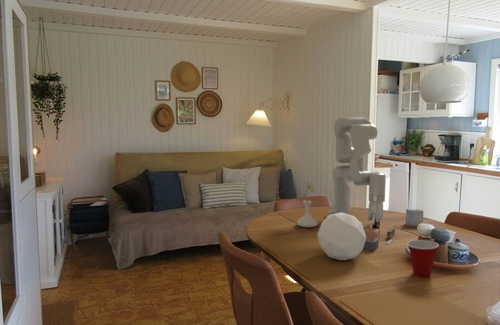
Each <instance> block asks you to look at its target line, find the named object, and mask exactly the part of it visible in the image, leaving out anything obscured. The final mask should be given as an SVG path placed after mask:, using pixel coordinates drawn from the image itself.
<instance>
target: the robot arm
mask: <svg viewBox="0 0 500 325" xmlns="http://www.w3.org/2000/svg"><path fill="white" fill-rule="evenodd" d="M333 132H334V136H335V161H336V162H337V163H339V164H345V165H337V166H335V167H334V168H332V181H333V210H331V209H327V210H326V212H327V215H332V214H336V213H340V212H342V213H345V214H348V215H351V187H350V185H348V182H352V184H354V185H355V186H357V187H358V186H359V187H360V186H361V187H362V186H363V187H364V186H368V201H369V202H368V208H367V209H368V212H367V220H368V222H370V221H371V222H370V223H371V224H370V225H371V228H377V229H381V228H380V225H381V222H380V221H381V220H383V217H384V202H385V201H386V174H385V173H383V172H379V171H377V170H374V169H373V170H372V169H371V170H364V157H366V156H368V155H369V154H370V153H371V152H372V149H371V145H370V144H371V143H370V140H375V139H376V138H377V137H378V129H377V126H376V125H375V124H374V123H373V122H371V121H370V120H369V119H367V118H366V117H363V116H361V117H360V116H343V117H338V118H336V120H335V121H334V124H333ZM348 164H349V165H348Z"/></svg>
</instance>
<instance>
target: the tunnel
mask: <svg viewBox="0 0 500 325" xmlns="http://www.w3.org/2000/svg"><path fill="white" fill-rule="evenodd" d="M368 227H370V228H371V224H370V223H367V224H365V225H363V228H364V230H365V229H366V228H368ZM395 232H396V228H395V227H391V228H389V229H388V230H387V232H386V235H387V236H386V239H388V240H390V239H392V238H393V237H394V236H395V235H396V233H395Z"/></svg>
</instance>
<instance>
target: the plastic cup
mask: <svg viewBox="0 0 500 325" xmlns="http://www.w3.org/2000/svg"><path fill="white" fill-rule="evenodd" d="M406 245H407V247H408V250H409V254H410V261H411V265H412V266H411V267H412V272H413V274H414V275H415V276H416V277H421V278H429V277H430V276H431V274H432V270H433V268H434V263H435V258H436V254H437V252H438V251H437V250H438V248H439V246H440V245H439V243H438V242H435V241H432V240H422V239H416V240H415V239H414V240H410V241H407V242H406Z"/></svg>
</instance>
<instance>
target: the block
mask: <svg viewBox="0 0 500 325" xmlns="http://www.w3.org/2000/svg"><path fill="white" fill-rule="evenodd" d="M364 232H365V235H366V240H368V241H374V240H375V239H379V241H380V240H381V228H379V229H377V228H372V227H371V226H370V227H368V228H366V229H365V230H364Z"/></svg>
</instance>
